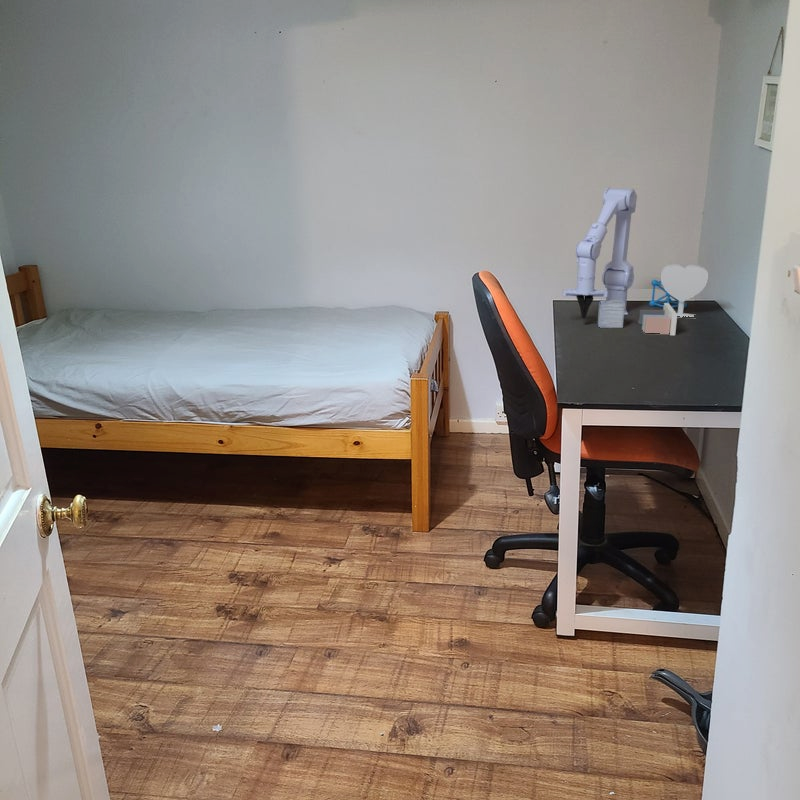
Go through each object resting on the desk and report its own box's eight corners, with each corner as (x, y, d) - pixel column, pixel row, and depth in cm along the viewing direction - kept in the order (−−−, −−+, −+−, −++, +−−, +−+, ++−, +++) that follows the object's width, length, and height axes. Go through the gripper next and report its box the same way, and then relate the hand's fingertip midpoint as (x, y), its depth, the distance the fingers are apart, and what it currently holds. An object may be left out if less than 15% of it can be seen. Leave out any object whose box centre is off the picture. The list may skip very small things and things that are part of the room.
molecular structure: (668, 302, 304) (670, 276, 301) (687, 308, 296) (690, 281, 292) (647, 306, 300) (650, 279, 297) (667, 311, 292) (669, 284, 288)
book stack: (637, 321, 278) (639, 301, 276) (665, 322, 277) (667, 302, 275) (644, 334, 263) (646, 313, 260) (675, 335, 261) (677, 314, 259)
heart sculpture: (702, 315, 286) (708, 264, 280) (703, 318, 281) (709, 267, 275) (657, 312, 290) (661, 262, 284) (657, 316, 286) (661, 265, 279)
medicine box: (620, 325, 275) (622, 300, 272) (622, 328, 271) (625, 303, 268) (597, 324, 276) (599, 299, 273) (599, 328, 271) (600, 302, 269)
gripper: (564, 279, 266) (562, 319, 271) (609, 280, 264) (606, 320, 269) (563, 275, 272) (561, 314, 277) (607, 276, 271) (604, 315, 275)
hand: (583, 317), depth 273 cm, fingers closed
